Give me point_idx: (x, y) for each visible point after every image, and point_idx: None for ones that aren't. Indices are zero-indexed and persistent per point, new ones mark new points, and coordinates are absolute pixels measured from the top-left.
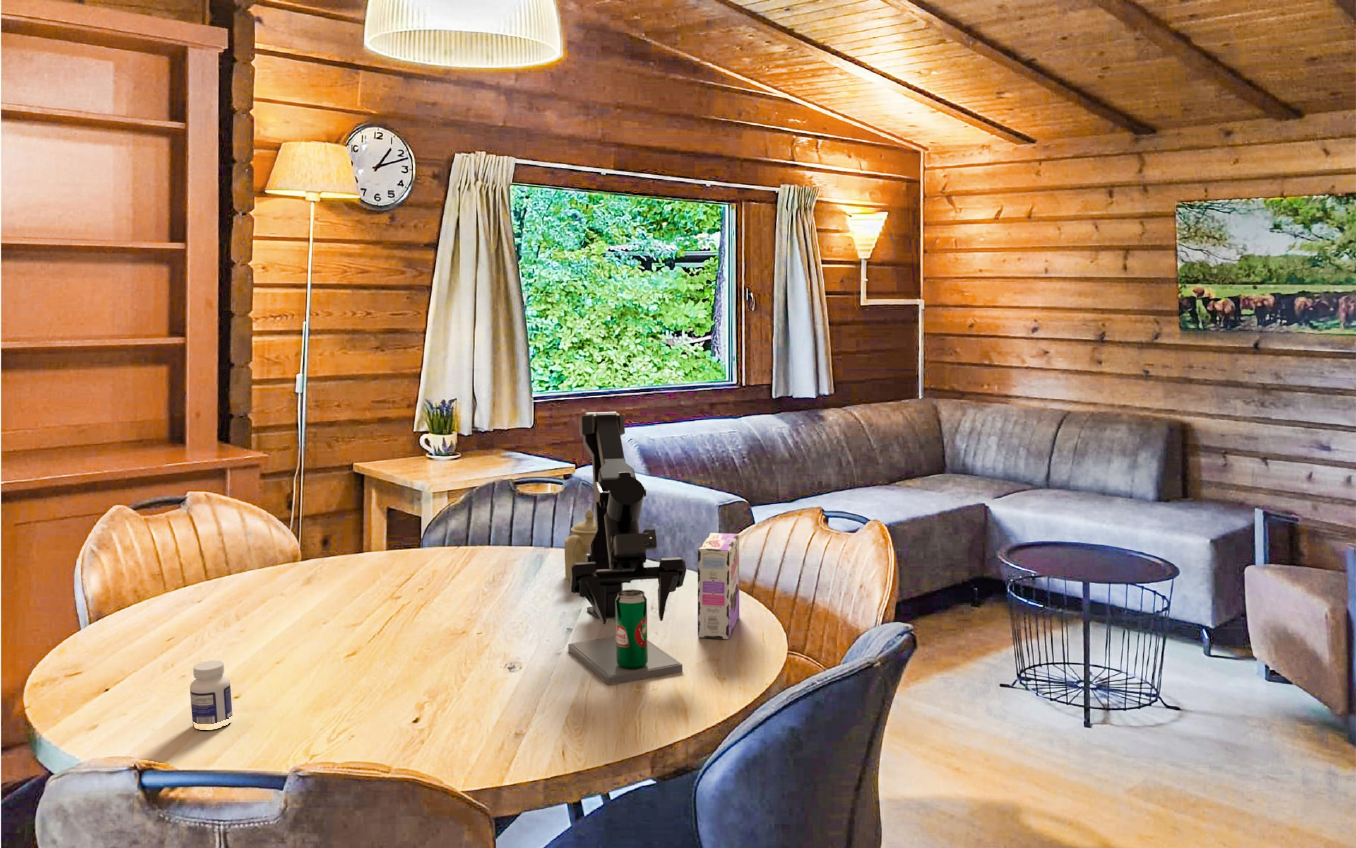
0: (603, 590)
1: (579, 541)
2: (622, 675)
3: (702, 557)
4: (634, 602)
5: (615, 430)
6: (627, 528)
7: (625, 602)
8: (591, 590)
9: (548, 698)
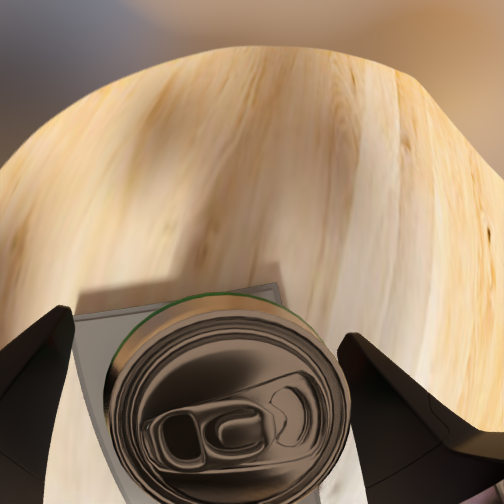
0: None
1: None
2: (238, 290)
3: None
4: (228, 295)
5: None
6: None
7: (296, 319)
8: (476, 429)
9: (385, 250)
